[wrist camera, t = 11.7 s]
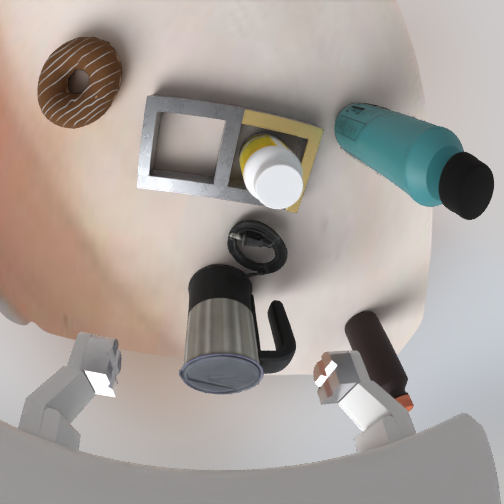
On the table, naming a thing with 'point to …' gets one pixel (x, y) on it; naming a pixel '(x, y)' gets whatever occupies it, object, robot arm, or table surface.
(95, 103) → the donut
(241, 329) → the milk frother
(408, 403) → the vinegar
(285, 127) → the grey compartment tray
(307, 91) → the table surface
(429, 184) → the beverage bottle
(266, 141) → the supplement bottle
